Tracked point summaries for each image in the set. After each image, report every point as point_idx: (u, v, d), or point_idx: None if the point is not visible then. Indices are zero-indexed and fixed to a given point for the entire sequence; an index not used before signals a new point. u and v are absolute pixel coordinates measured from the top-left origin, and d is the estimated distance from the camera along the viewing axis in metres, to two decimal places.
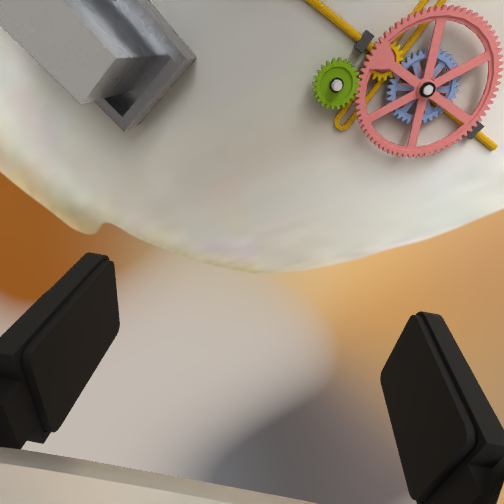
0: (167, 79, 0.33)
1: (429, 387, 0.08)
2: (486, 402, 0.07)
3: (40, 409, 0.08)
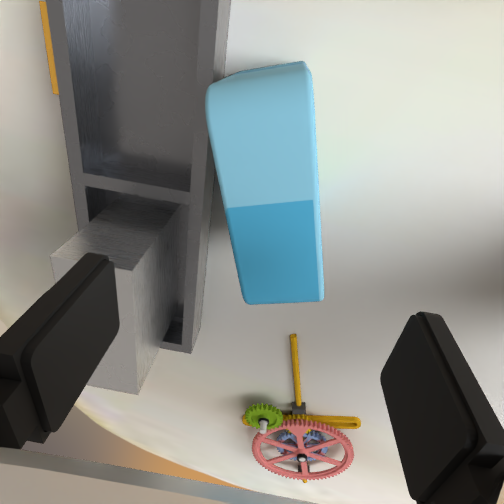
0: (164, 347, 0.34)
1: (429, 387, 0.08)
2: (486, 402, 0.07)
3: (40, 409, 0.08)
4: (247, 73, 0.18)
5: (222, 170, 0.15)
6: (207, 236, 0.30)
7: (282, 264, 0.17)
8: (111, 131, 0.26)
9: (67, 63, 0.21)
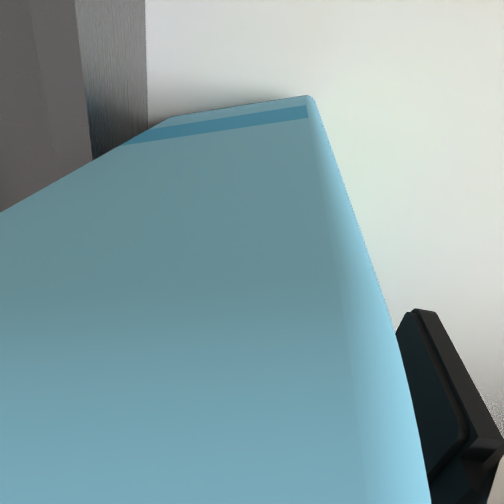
0: None
1: (423, 383, 0.08)
2: (478, 397, 0.07)
3: None
4: (142, 155, 0.06)
5: None
6: None
7: None
8: None
9: None
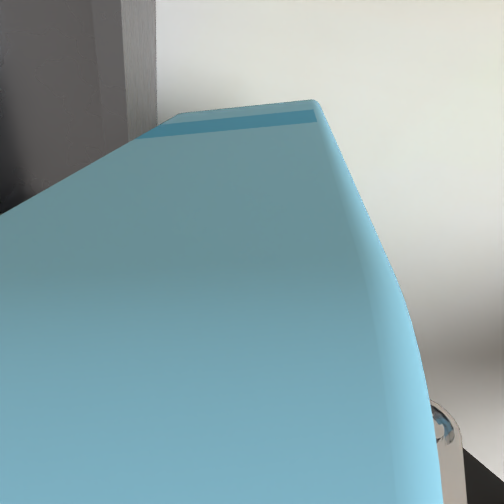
0: None
1: None
2: None
3: None
4: (161, 149, 0.06)
5: None
6: None
7: None
8: (2, 172, 0.18)
9: None
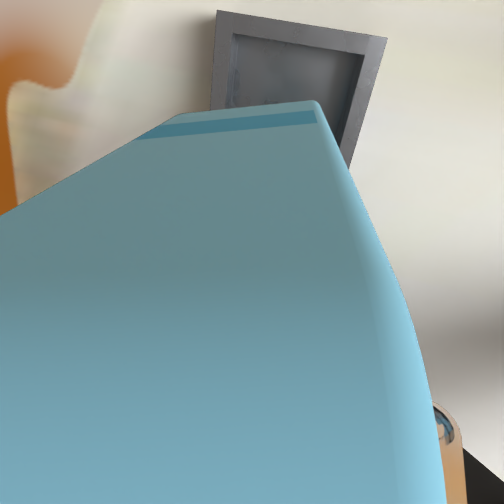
0: None
1: None
2: None
3: None
4: (160, 151, 0.06)
5: None
6: None
7: None
8: None
9: None
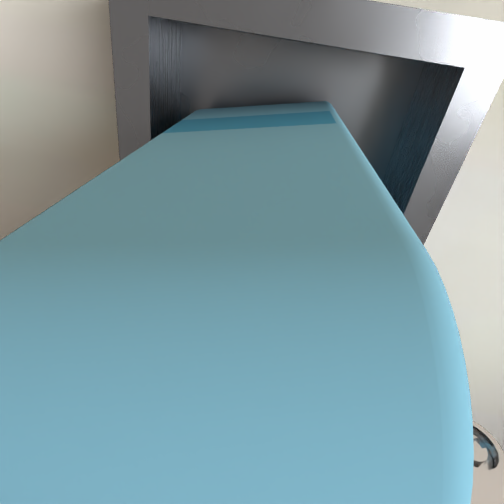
0: None
1: None
2: None
3: None
4: (193, 144, 0.07)
5: None
6: None
7: None
8: None
9: None
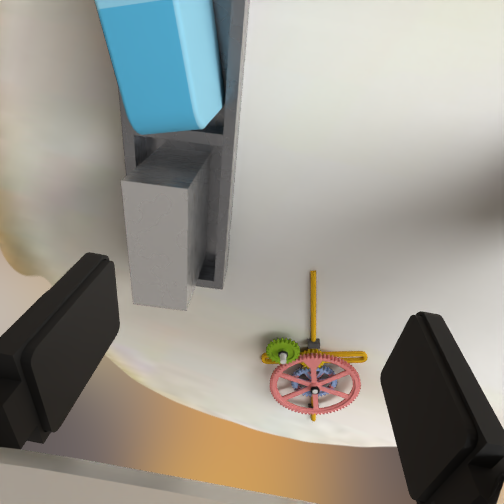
0: (199, 285, 0.39)
1: (429, 387, 0.08)
2: (486, 402, 0.07)
3: (40, 409, 0.08)
4: None
5: None
6: (233, 181, 0.35)
7: (155, 75, 0.19)
8: None
9: None
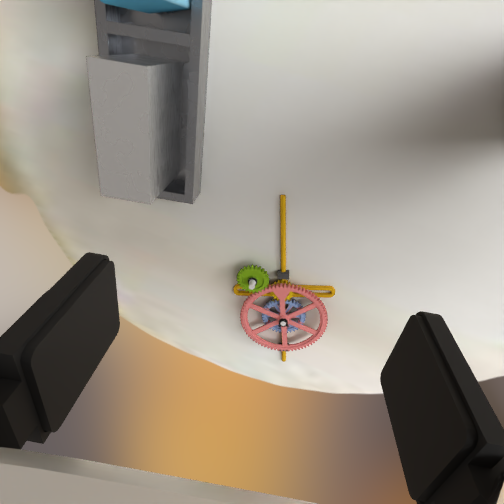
0: (170, 199, 0.40)
1: (429, 387, 0.08)
2: (486, 402, 0.07)
3: (40, 409, 0.08)
4: None
5: None
6: (204, 93, 0.37)
7: None
8: None
9: None
